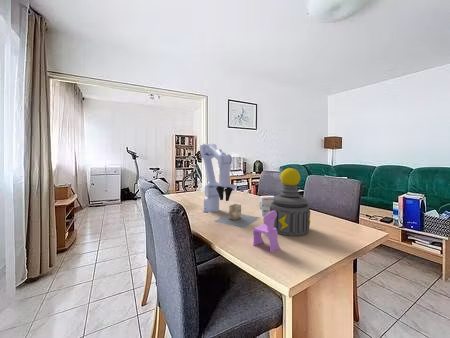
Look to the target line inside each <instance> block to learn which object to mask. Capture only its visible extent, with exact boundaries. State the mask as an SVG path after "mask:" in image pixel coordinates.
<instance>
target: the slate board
mask: <svg viewBox="0 0 450 338" xmlns="http://www.w3.org/2000/svg"><path fill="white" fill-rule="evenodd" d="M259 219H261V216H260V217H259V216H253V215H249V214H248V215H247V214H243V213H241V218H240V219H238V220H236V221H233V220H229V213H228V214H226V215H224V216H222V217H220V218H218V219H215V220H213V223H218V224H223V225H228V226H232V227H236V228H242V229H245V228H246V227H248V226H249V225H251V224H253V223H254V222H256V221H257V220H259Z"/></svg>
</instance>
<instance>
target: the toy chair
mask: <svg viewBox="0 0 450 338" xmlns="http://www.w3.org/2000/svg"><path fill="white" fill-rule="evenodd" d="M276 217H277V213H276V211H271V212H269V213H267V214H266V215H265V216H263V224H261V225H259V226H254V228H253V230H252V233H253V242H252V243H253V244H252V245H253V247H254V246H257V245H259V244H261V243H264V240H263V236H262V234H264V235H266V237H267V239H268V241H269V253H273V252H275V251H277V250H278V249H280V245H279V241H278V233H277V228H274V221H275V218H276Z"/></svg>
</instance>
